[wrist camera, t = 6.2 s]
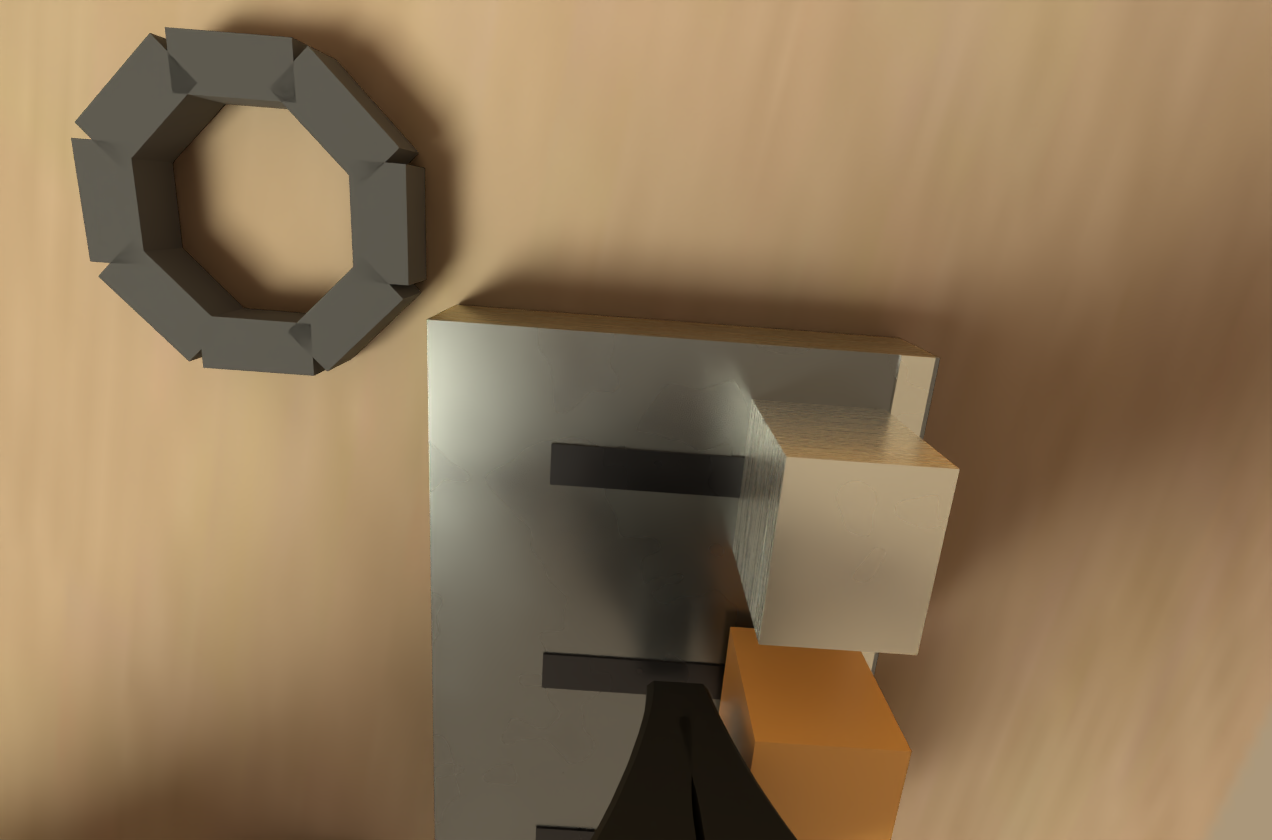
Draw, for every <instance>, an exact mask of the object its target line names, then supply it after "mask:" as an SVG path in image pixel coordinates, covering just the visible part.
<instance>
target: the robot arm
mask: <svg viewBox="0 0 1272 840" xmlns="http://www.w3.org/2000/svg"><path fill="white" fill-rule="evenodd" d="M591 840H797V838H796V837H795V836H794V834H793V833H792V832H791V830H790V829H789V828H788V826H787V825H786V824H785V822H784V821H783V819H782V818H781V817H780V815H779V814H778V812H777V811H776V809H775V808H774V806H773V805H772V803H771V802H770V801H769V799H768V798H767V796H766V795H765V793H764V792H763V790H762V789H761V787H760V785H759V784H758V782H757V781H756V779H755V778H754V776H753V774H752V773H751V771H750V769H749V768H748V766H747V764H746V763H745V761H744V759H743V758H742V756H741V754H740V752H739V751H738V749H737V747H736V745H735V744H734V742H733V740H732V738H731V736H730V734H729V733H728V731H727V729H726V727H725V725H724V723H723V721H722V719H721V717H720V715H719V713H718V711H717V709H716V707H715V705H714V702H713V700H712V698H711V695H710V693H709V691H708V689H707V688H706V687H705V686H704V684H698V683H683V682H668V681H652V682H651V683H650V684H648V685H647V690H646V700H645V711H644V715H643V719H642V723H641V726H640V730H639V733H638V736H637V739H636V742H635V744H634V747H633V750H632V753H631V756H630V759H629V761H628V764H627V766H626V769H625V771H624V773H623V775H622V778H621V780H620V782H619V784H618V787H617V789H616V791H615V793H614V796H613V798H612V800H611V802H610V804H609V806H608V808H607V810H606V812H605V814H604V816H603V818H602V820H601V822H600V824H599V826H598V827H597V829H596V831H595V833H594V835H593V836H592V838H591Z"/></svg>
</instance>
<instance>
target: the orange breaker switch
mask: <svg viewBox="0 0 1272 840" xmlns="http://www.w3.org/2000/svg"><path fill="white" fill-rule="evenodd" d="M719 715H720V717H721V719H722V721H723V723H724V725H725V727H726V729H727V731H728V733H729V734H730V736H731V738H732V740H733V742H734V744H735V745H736V747H737V749H738V751H739V752H740V754H741V756H742V758H743V759H744V761H745V763H746V764H747V766H748V768H749V769H750V771H751V773H752V774H753V776H754V778H755V779H756V781H757V782H758V784H759V785H760V787H761V789H762V790H763V792H764V793H765V795H766V796H767V798H768V799H769V801H770V802H771V803H772V805H773V806H774V808H775V809H776V811H777V812H778V814H779V815H780V817H781V818H782V819H783V821H784V822H785V824H786V825H787V826H788V828H789V829H790V830H791V832H792V833H793V834H794V836H795V837H796V838H797V840H891V837H892V832H893V828H894V824H895V820H896V815H897V811H898V807H899V803H900V799H901V794H902V790H903V786H904V782H905V777H906V773H907V769H908V765H909V760H910V756H911V752H912V751H911V749H910V747H909V745H908V743H907V741H906V739H905V738H904V736H903V734H902V732H901V730H900V728H899V726H898V724H897V722H896V720H895V718H894V716H893V714H892V712H891V710H890V708H889V706H888V704H887V702H886V700H885V698H884V696H883V694H882V692H881V690H880V688H879V686H878V684H877V682H876V680H875V678H874V676H873V674H872V672H871V670H870V668H869V666H868V664H867V662H866V660H865V658H864V656H863V654H862V652H861V651H848V650H833V649H818V648H803V647H788V646H773V645H759V644H758V640H757V636H756V633H755V629H754V628H743V627H730V633H729V640H728V648H727V656H726V663H725V671H724V678H723V686H722V693H721V701H720V709H719Z"/></svg>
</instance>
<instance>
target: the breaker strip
mask: <svg viewBox="0 0 1272 840" xmlns="http://www.w3.org/2000/svg"><path fill="white" fill-rule="evenodd" d="M939 361H940V357H937V356H935V355H933V354H931V353H929V352H927V351H925V350H923V349H921V348H919V347H917V346H915V345H913V344H911V343H909V342H906V341H904V340H902V339H900V338H895V337H882V336H869V335H855V334H842V333H829V332H815V331H802V330H789V329H775V328H762V327H749V326H735V325H722V324H709V323H695V322H682V321H669V320H655V319H642V318H629V317H615V316H602V315H589V314H575V313H562V312H549V311H535V310H522V309H509V308H495V307H482V306H469V305H455V306H453V307H451V308H449V309H447V310H445V311H443V312H441V313H439V314H437V315H435V316H433V317H431V318H429V319H427V363H428V427H429V491H430V555H431V620H432V684H433V748H434V812H435V840H591V838H592V836H593V835H594V833H595V831H596V829H597V827H598V826H599V824H600V822H601V820H602V818H603V816H604V814H605V812H606V810H607V808H608V806H609V804H610V802H611V800H612V798H613V796H614V793H615V791H616V789H617V787H618V784H619V782H620V780H621V778H622V775H623V773H624V771H625V769H626V766H627V764H628V761H629V759H630V756H631V753H632V750H633V747H634V744H635V742H636V739H637V736H638V733H639V730H640V726H641V723H642V719H643V715H644V711H645V700H646V690H647V685H648V684H650V683H651V682H652V681H668V682H683V683H698V684H704V686H705V687H706V688H707V689H708V691H709V693H710V695H711V698H712V700H713V702H714V705H715V707H716V709H717V711H718V713H719V709H720V701H721V693H722V686H723V678H724V671H725V663H726V656H727V648H728V640H729V633H730V627H743V628H754V629H755V633H756V636H757V640H758V644H759V645H773V646H788V647H803V648H818V649H833V650H848V651H861V652H862V654H863V656H864V658H865V660H866V662H867V664H868V666H869V668H870V670H871V672H872V674H873V676H874V673H875V668H876V664H877V659H878V654H879V653H892V654H907V655H917V654H918V650H919V646H920V641H921V637H922V633H923V628H924V624H925V619H926V615H927V611H928V606H929V602H930V597H931V593H932V589H933V584H934V580H935V575H936V571H937V567H938V562H939V558H940V554H941V549H942V545H943V540H944V536H945V532H946V527H947V523H948V518H949V514H950V510H951V505H952V501H953V496H954V492H955V488H956V483H957V479H958V474H959V470H960V469H959V468H957V467H956V466H955V465H954V464H952V463H951V462H950V461H949V460H948V459H946V458H945V457H944V456H943V455H941V454H940V453H939V452H938V451H936V450H935V449H934V448H933V447H931V446H930V445H929V444H928V443H926V442H925V441H924V440H923V438H924V433H925V428H926V423H927V419H928V414H929V409H930V404H931V399H932V395H933V390H934V385H935V380H936V375H937V371H938V366H939Z"/></svg>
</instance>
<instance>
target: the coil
mask: <svg viewBox="0 0 1272 840" xmlns="http://www.w3.org/2000/svg"><path fill="white" fill-rule="evenodd" d="M165 33H166V39H165V38H162V37H160V36H157V35H154V34H151V33H149V34H148V36H147V37H146V38H145V39H144V40H143V42H142V43H141V44H140V45H139V46H138V48H137V49H136V50H135V51H134V52H133V53H132V55H131V56H130V57H129V58H128V59H127V61H126V62H125V63H124V64H123V65H122V67H121V68H120V69H119V70H118V71H117V72H116V74H115V75H114V76H113V77H112V78H111V80H110V81H109V82H108V83H107V84H106V86H105V87H104V88H103V89H102V90H101V91H100V93H99V94H98V95H97V96H96V97H95V99H94V100H93V101H92V102H91V103H90V104H89V106H88V107H87V108H86V109H85V110H84V112H83V113H82V114H81V115H80V116H79V118H78V119H77V120H76V121H75V123H76V124H77V125H78V126H79V127H80V128H81V129H82V130H83V131H84V132H85V133H86V134H87V135H88V136H89V137H90V138H91V139H92V140H91V139H78V138H71V141H72V147H73V154H74V160H75V166H76V173H77V179H78V186H79V192H80V198H81V205H82V211H83V218H84V224H85V230H86V237H87V243H88V250H89V256H90V261H92V262H105V263H110V264H109V265H108V266H107V267H106V268H105V269H104V271H103V272H102V273H101V274H100V275H99V277H100V278H101V279H102V280H103V281H104V282H105V283H106V284H107V285H108V286H109V287H110V288H111V289H112V290H113V291H115V292H116V293H117V294H118V295H119V296H120V297H121V298H122V299H123V300H124V301H125V302H126V303H127V304H128V305H130V306H131V307H132V308H133V309H134V310H135V311H136V312H137V313H138V314H139V315H140V316H141V317H142V318H143V319H144V320H146V321H147V322H148V323H149V324H150V325H151V326H152V327H153V328H154V329H155V330H156V331H157V332H158V333H159V334H161V335H162V336H163V337H164V338H165V339H166V340H167V341H168V342H169V343H170V344H171V345H172V346H173V347H174V348H175V349H177V350H178V351H179V352H180V353H181V354H182V355H183V356H184V357H185V358H186V359H187V360H188V361H191V360H195V359H198V358H201V357H202V359H203V367H204V368H216V369H229V370H243V371H257V372H270V373H284V374H298V375H311V376H314V375H316V374H318V373H320V372H322V371H324V370H326V371H329V370H331V369H333V368H335V367H337V366H339V365H341V364H343V363H345V362H347V361H349V360H351V359H352V358H353V357H354V356H355V355H356V354H357V353H358V352H359V351H360V350H361V349H362V348H363V347H364V346H365V345H367V344H368V343H369V342H370V341H371V340H372V339H373V338H374V337H375V336H376V335H377V334H378V333H379V332H380V331H381V330H382V329H383V328H384V327H386V326H387V325H388V324H389V323H390V322H391V321H392V320H393V319H394V318H395V317H396V316H397V315H398V314H399V313H400V312H401V311H402V310H403V309H405V308H406V307H407V306H408V305H409V304H410V303H411V302H412V301H413V300H414V299H415V298H416V297H417V296H418V295H419V294H420V293H421V292H420V290H419V289H418V288H417V287H416V286H415V285H414V283H418V282H421V281H424V280H426V222H425V168H422V167H417V166H412V165H408V163H409V162H410V161H411V160H412V159H413V158H414V157H415V156H416V155H417V154H418V153H419V152H418V151H417V150H416V149H415V148H414V147H413V146H412V145H411V144H410V142H409V141H408V140H407V139H406V138H405V137H404V136H403V135H402V133H401V132H400V131H399V130H398V129H397V128H396V127H395V126H394V124H393V123H392V122H391V121H390V120H389V119H388V118H387V117H386V115H385V114H384V113H383V112H382V111H381V110H380V109H379V108H378V106H377V105H376V104H375V103H374V102H373V101H372V100H371V99H370V97H369V96H368V95H367V94H366V93H365V92H364V91H363V90H362V88H361V87H360V86H359V85H358V84H357V83H356V82H355V81H354V80H353V78H352V77H351V76H350V75H349V74H348V73H347V72H346V71H345V69H344V68H343V67H342V66H341V65H340V64H339V63H338V62H337V60H335V59H333V58H331V57H329V56H327V55H325V54H323V53H321V52H320V51H318V50H316V49H314V48H312V47H310V46H308V45H306V44H304V43H302V42H300V41H298V40H296V39H294V38H292V37H279V36H267V35H255V34H242V33H230V32H218V31H205V30H193V29H181V28H168V27H165ZM225 104H231V105H244V106H257V107H269V108H282V109H288V110H289V111H290V112H291V113H292V114H293V115H294V116H295V117H296V118H297V120H298V121H299V122H300V123H301V124H302V125H303V126H304V127H305V128H306V129H307V130H308V131H309V132H310V134H311V135H312V136H313V137H314V138H315V139H316V140H317V141H318V142H319V143H320V144H321V145H322V147H323V148H324V149H325V150H326V151H327V152H328V153H329V154H330V155H331V156H332V157H333V158H334V159H335V161H336V162H337V163H338V164H339V165H340V166H341V167H342V168H343V169H344V170H345V171H346V172H347V173H348V175H349V185H350V206H351V228H352V250H353V268H352V269H351V270H350V271H349V272H348V273H347V274H346V275H345V276H344V277H343V278H342V279H341V280H340V281H339V282H338V283H337V284H336V285H335V286H334V287H332V288H331V289H330V290H329V291H328V292H327V293H326V294H325V295H324V296H323V297H322V298H321V299H320V300H319V301H318V302H317V303H316V304H315V305H314V306H313V307H312V308H311V309H310V310H309V311H308V312H307V313H298V312H285V311H272V310H258V309H245V308H243V307H242V306H241V305H240V304H239V303H238V302H237V301H236V300H235V299H234V298H233V297H232V296H231V295H230V294H229V293H228V292H227V291H226V290H225V289H224V288H223V287H222V286H221V285H220V284H219V283H218V282H217V281H216V280H215V279H214V278H213V277H212V276H210V275H209V274H208V273H207V272H206V271H205V270H204V269H203V268H202V267H201V266H200V265H199V264H198V263H197V262H196V261H195V260H194V259H193V258H192V257H191V256H190V255H189V254H188V253H187V252H186V251H185V250H184V249H183V248H182V240H181V231H180V223H179V214H178V206H177V197H176V188H175V180H174V171H173V161H174V160H175V159H176V158H177V157H178V156H179V155H180V154H181V153H182V151H183V150H184V149H185V148H186V147H187V146H188V145H189V144H190V143H191V141H192V140H193V139H194V138H195V137H196V136H197V135H198V134H199V132H200V131H201V130H202V129H203V128H204V127H205V126H206V125H207V124H208V122H209V121H210V120H211V119H212V118H213V117H214V116H215V115H216V114H217V112H218V111H219V110H220V109H221V108H222V107H223V106H224V105H225Z"/></svg>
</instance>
